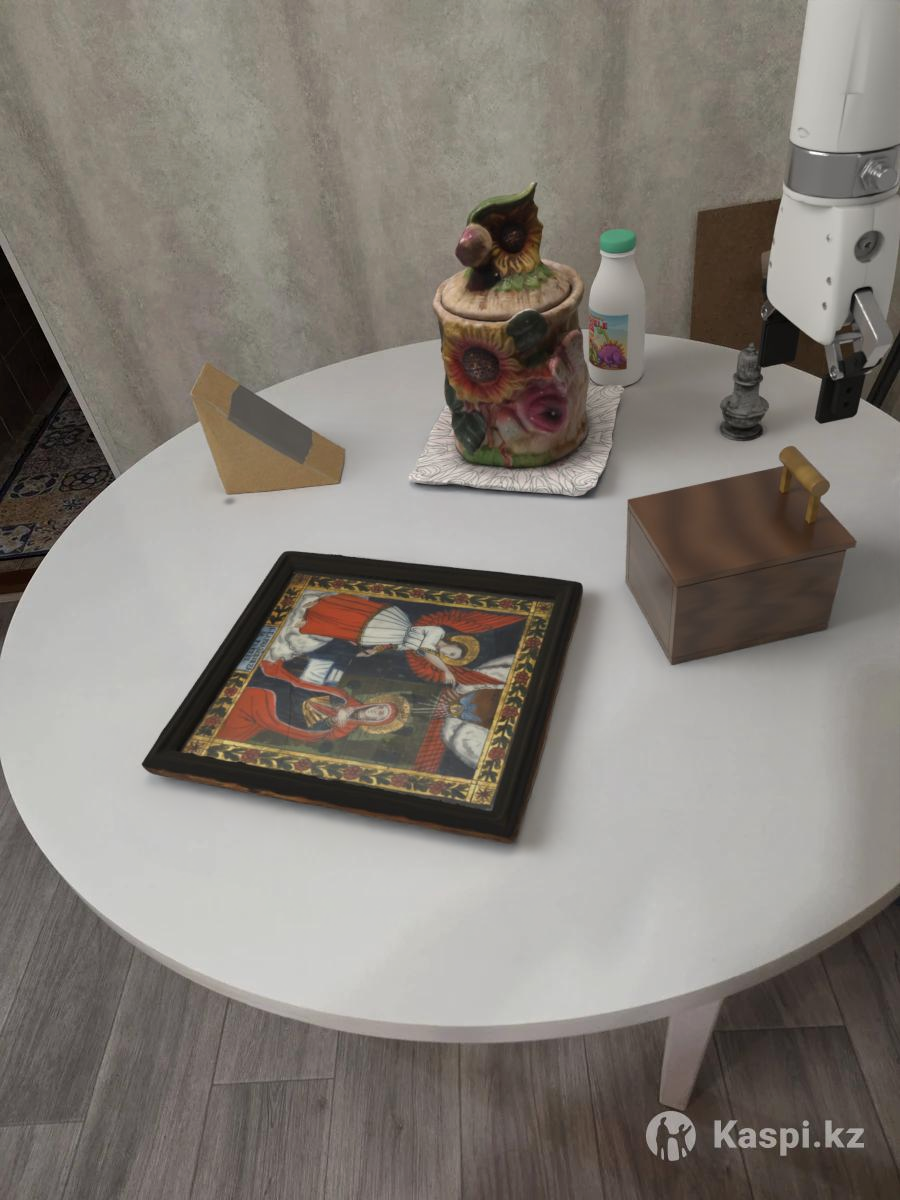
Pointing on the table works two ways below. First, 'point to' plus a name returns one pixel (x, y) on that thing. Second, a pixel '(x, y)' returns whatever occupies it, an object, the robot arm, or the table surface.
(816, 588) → the bin
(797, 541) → the bin lid
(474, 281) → the cookie jar
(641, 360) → the milk bottle
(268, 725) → the framed painting
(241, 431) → the sandwich container
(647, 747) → the table surface
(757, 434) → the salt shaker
